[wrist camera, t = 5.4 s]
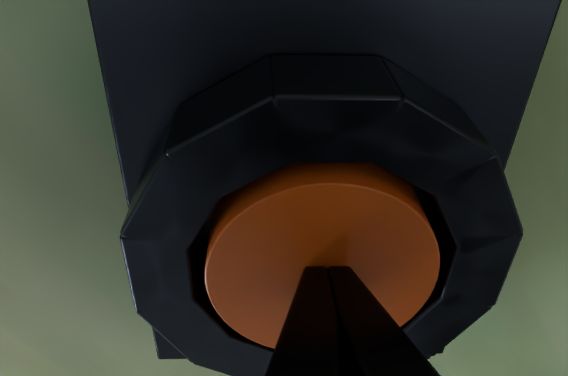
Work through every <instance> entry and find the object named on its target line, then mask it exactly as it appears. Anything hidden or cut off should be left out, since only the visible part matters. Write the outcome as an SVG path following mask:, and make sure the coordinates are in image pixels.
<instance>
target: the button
mask: <svg viewBox="0 0 568 376" xmlns="http://www.w3.org/2000/svg"><path fill="white" fill-rule="evenodd" d="M306 266H325V267H326V268H328V267H329V266H349V267H351V268H352V270H353V271H354V272H355V273H356V274H357V276H358V277H359V278H360V279H361V280H362V282H363V283H364V284H365V285H366V286H367V288H368V289H369V290H370V291H371V292H372V294H373V295H374V296H375V297H376V298H377V300H378V301H379V302H380V303H381V305H382V306H383V307H384V308H385V309H386V311H387V312H388V313H389V314H390V315H391V317H392V318H393V319H394V320H395V321H396V323H397V324H398V325H399V326H400V327H401V326H402V325H404V324H405V323H406V322H407V321H409V320H410V319H411V318H412V317H413V316H414V315H415V314H416V313H417V312H418V311H419V310H420V309H421V308H422V306H423V305H424V304H425V303H426V301H427V300H428V298H429V296H430V295H431V293H432V291H433V289H434V287H435V284H436V281H437V279H438V274H439V269H440V252H439V246H438V242H437V239H436V237H435V234H434V232H433V230H432V227H431V225H430V223H429V221H428V219H427V216H426V214H425V212H424V210H423V208H422V206H421V203H420V201H419V199H418V197H417V195H416V193H415V190H414V188H413V186H412V184H411V183H409V182H407V181H405V180H403V179H401V178H399V177H398V176H396V175H394V174H392V173H390V172H388V171H386V170H385V169H383V168H381V167H379V166H377V165H375V164H373V163H292V164H290V165H288V166H286V167H284V168H281V169H279V170H277V171H275V172H273V173H271V174H269V175H267V176H265V177H263V178H261V179H259V180H257V181H255V182H253V183H250V184H248V185H246V186H244V187H242V188H240V189H238V190H236V191H234V192H232V193H230V194H228V195H226V196H224V197H222V198H221V200H220V201H219V203H218V204H217V206H216V207H215V209H214V210H213V212H212V218H211V224H210V232H209V240H208V248H207V255H206V263H205V284H206V290H207V293H208V296H209V298H210V301H211V303H212V305H213V306H214V308H215V310H216V312H217V313H218V314H219V315H220V317H221V318H222V319H223V320H224V321H225V322H226V323H227V324H228V325H229V326H230V327H231V328H232V329H234V330H235V331H237V332H238V333H239V334H241V335H242V336H244V337H246V338H248V339H250V340H252V341H254V342H256V343H259V344H261V345H264V346H267V347H270V348H274V349H275V346H276V343H277V341H278V338H279V335H280V332H281V330H282V327H283V324H284V322H285V319H286V316H287V313H288V311H289V308H290V305H291V302H292V300H293V297H294V294H295V292H296V289H297V286H298V283H299V281H300V278H301V275H302V272H303V270H304V268H305V267H306Z"/></svg>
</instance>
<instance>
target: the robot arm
mask: <svg viewBox="0 0 568 376" xmlns="http://www.w3.org/2000/svg"><path fill="white" fill-rule="evenodd" d="M265 376H440V375H439V373H438V372H437V371H436V370H435V368H434V367H433V366H432V365H431V364H430V362H429V361H428V360H427V359H426V358H425V356H424V355H423V354H422V353H421V352H420V350H419V349H418V348H417V347H416V346H415V344H414V343H413V342H412V341H411V340H410V338H409V337H408V336H407V335H406V333H405V332H404V331H403V330H402V329H401V327H400V326H399V325H398V324H397V323H396V321H395V320H394V319H393V318H392V317H391V315H390V314H389V313H388V312H387V311H386V309H385V308H384V307H383V306H382V305H381V303H380V302H379V301H378V300H377V298H376V297H375V296H374V295H373V294H372V292H371V291H370V290H369V289H368V288H367V286H366V285H365V284H364V283H363V282H362V280H361V279H360V278H359V277H358V276H357V274H356V273H355V272H354V271H353V270H352V268H351V267H349V266H329V267H328V268H326V267H325V266H306V267H305V268H304V270H303V272H302V275H301V278H300V281H299V283H298V286H297V289H296V292H295V294H294V297H293V300H292V302H291V305H290V308H289V311H288V313H287V316H286V319H285V322H284V324H283V327H282V330H281V332H280V335H279V338H278V341H277V343H276V346H275V349H274V352H273V354H272V357H271V360H270V362H269V365H268V368H267V371H266V373H265Z"/></svg>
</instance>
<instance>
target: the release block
mask: <svg viewBox="0 0 568 376" xmlns="http://www.w3.org/2000/svg"><path fill="white" fill-rule="evenodd" d="M87 1H88V6H89V11H90V16H91V21H92V26H93V31H94V36H95V41H96V47H97V52H98V57H99V62H100V67H101V72H102V77H103V82H104V87H105V92H106V97H107V102H108V107H109V112H110V117H111V123H112V128H113V133H114V138H115V143H116V148H117V153H118V158H119V163H120V168H121V173H122V178H123V183H124V188H125V193H126V198H127V204H128V212H127V215H126V218H125V220H124V223H123V226H122V228H121V235H120V241H121V246H122V250H123V255H124V260H125V264H126V269H127V273H128V278H129V282H130V287H131V291H132V296H133V300H134V305H135V309H136V310H137V313H138V314H139V315H140V316H141V317H142V318H143V319H144V320H145V321H146V322H148V323H149V324H150V325H151V326H152V330H153V335H154V340H155V345H156V350H157V355H158V358H159V359H188V360H189V361H190V362H193V363H194V364H196V365H199V366H202V367H205V368H208V369H212V370H215V371H218V372H221V373H224V374H227V375H231V376H265V373H266V371H267V368H268V365H269V362H270V360H271V357H272V354H273V352H274V348H270V347H267V346H264V345H261V344H259V343H256V342H254V341H252V340H250V339H248V338H246V337H244V336H242V335H241V334H239V333H238V332H237V331H235V330H234V329H232V328H231V327H230V326H229V325H228V324H227V323H226V322H225V321H224V320H223V319H222V318H221V317H220V315H219V314H218V313H217V312H216V310H215V308H214V306H213V305H212V303H211V301H210V298H209V296H208V293H207V290H206V284H205V263H206V255H207V248H208V240H209V232H210V224H211V218H212V212H213V210H214V209H215V207H216V206H217V204H218V203H219V201H220V200H221V198H222V197H224V196H226V195H228V194H230V193H232V192H234V191H236V190H238V189H240V188H242V187H244V186H246V185H248V184H250V183H253V182H255V181H257V180H259V179H261V178H263V177H265V176H267V175H269V174H271V173H273V172H275V171H277V170H279V169H281V168H284V167H286V166H288V165H290V164H292V163H373V164H375V165H377V166H379V167H381V168H383V169H385V170H386V171H388V172H390V173H392V174H394V175H396V176H398V177H399V178H401V179H403V180H405V181H407V182H409V183H411V184H412V186H413V188H414V190H415V193H416V195H417V197H418V199H419V201H420V203H421V206H422V208H423V210H424V212H425V214H426V216H427V219H428V221H429V223H430V225H431V227H432V230H433V232H434V234H435V237H436V239H437V242H438V246H439V252H440V269H439V274H438V279H437V281H436V284H435V287H434V289H433V291H432V293H431V295H430V296H429V298H428V300H427V301H426V303H425V304H424V305H423V306H422V308H421V309H420V310H419V311H418V312H417V313H416V314H415V315H414V316H413V317H412V318H411V319H410V320H409V321H407V322H406V323H405V324H404V325H402V326H401V329H402V330H403V331H404V332H405V333H406V335H407V336H408V337H409V338H410V340H411V341H412V342H413V343H414V344H415V346H416V347H417V348H418V349H419V350H420V352H421V353H422V354H423V355H424V356H425V358H426V359H429V358H430V356H434V355H435V354H437V353H443V350H444V347H445V346H446V345H447V344H449V343H450V342H451V341H452V340H453V339H455V338H456V337H457V336H458V335H459V334H461V333H462V332H463V331H464V330H465V329H467V328H468V327H469V326H470V325H472V324H473V323H474V322H475V321H476V320H478V319H479V318H480V317H481V316H482V315H484V314H485V313H486V312H487V311H488V310H490V309H491V308H492V306H493V305H495V304H496V301H497V299H498V296H499V294H500V291H501V289H502V286H503V284H504V281H505V279H506V276H507V274H508V271H509V269H510V266H511V264H512V261H513V259H514V256H515V254H516V251H517V249H518V246H519V244H520V241H521V239H522V236H523V228H522V225H521V222H520V219H519V216H518V213H517V210H516V207H515V204H514V201H513V198H512V195H511V192H510V189H509V186H508V183H507V180H506V177H505V174H504V170H505V167H506V164H507V161H508V158H509V155H510V152H511V149H512V146H513V143H514V140H515V137H516V134H517V131H518V128H519V125H520V122H521V119H522V116H523V113H524V110H525V107H526V104H527V101H528V99H529V96H530V93H531V90H532V87H533V84H534V81H535V78H536V75H537V72H538V69H539V66H540V63H541V60H542V57H543V54H544V51H545V48H546V45H547V42H548V39H549V36H550V33H551V30H552V27H553V24H554V21H555V19H556V16H557V13H558V10H559V7H560V4H561V1H562V0H87Z"/></svg>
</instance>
